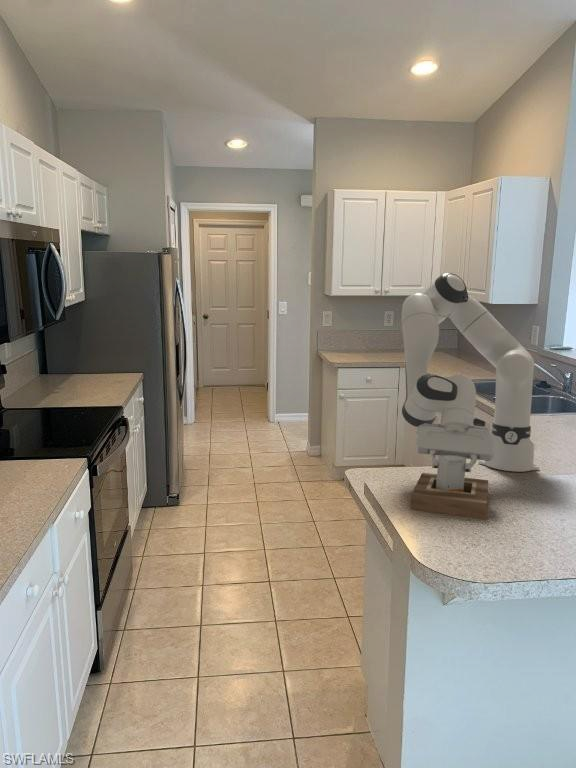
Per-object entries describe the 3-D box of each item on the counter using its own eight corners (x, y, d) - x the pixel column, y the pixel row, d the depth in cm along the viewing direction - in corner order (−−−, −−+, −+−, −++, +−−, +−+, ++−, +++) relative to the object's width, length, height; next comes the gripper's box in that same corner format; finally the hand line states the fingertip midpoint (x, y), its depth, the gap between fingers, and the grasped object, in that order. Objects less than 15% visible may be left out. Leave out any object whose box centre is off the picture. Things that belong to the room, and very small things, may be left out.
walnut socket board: (421, 486, 166) (422, 471, 165) (487, 494, 160) (488, 479, 159) (410, 509, 145) (411, 492, 145) (485, 519, 139) (487, 502, 139)
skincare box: (444, 504, 150) (447, 459, 148) (434, 499, 154) (437, 455, 152) (463, 502, 152) (467, 458, 150) (453, 497, 156) (456, 454, 154)
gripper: (417, 416, 160) (410, 458, 152) (495, 423, 153) (492, 467, 145) (419, 429, 165) (412, 470, 157) (494, 436, 158) (491, 480, 150)
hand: (451, 469), depth 151 cm, fingers closed on skincare box, 7 cm apart
